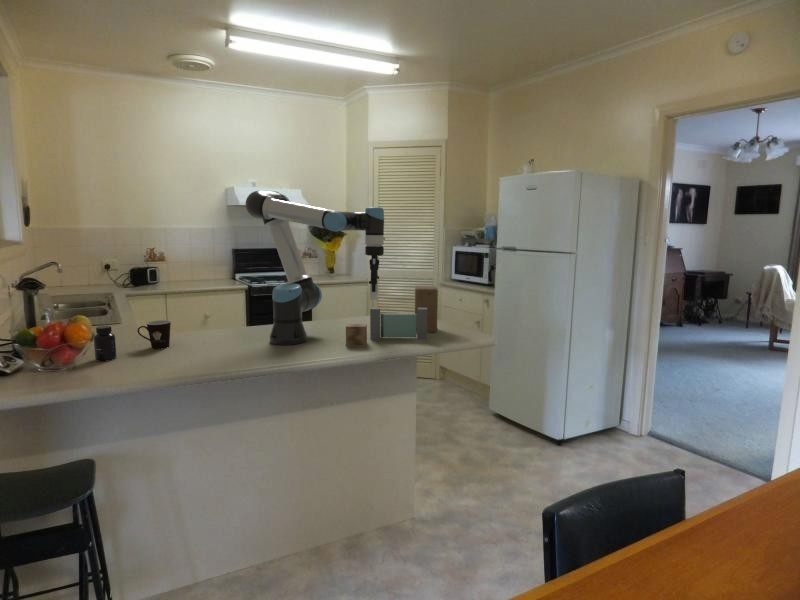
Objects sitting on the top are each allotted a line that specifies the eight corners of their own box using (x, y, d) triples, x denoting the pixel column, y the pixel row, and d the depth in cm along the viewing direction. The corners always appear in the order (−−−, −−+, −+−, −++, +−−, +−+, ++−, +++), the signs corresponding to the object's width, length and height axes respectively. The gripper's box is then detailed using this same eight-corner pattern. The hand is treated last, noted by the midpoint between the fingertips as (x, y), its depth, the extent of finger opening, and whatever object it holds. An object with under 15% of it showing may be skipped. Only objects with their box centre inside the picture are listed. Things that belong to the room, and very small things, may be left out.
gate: (380, 337, 219) (380, 314, 217) (380, 336, 220) (380, 313, 218) (416, 337, 218) (416, 314, 217) (416, 336, 220) (416, 313, 218)
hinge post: (370, 339, 218) (370, 309, 215) (371, 336, 222) (370, 307, 219) (379, 339, 217) (379, 309, 215) (380, 337, 221) (380, 307, 219)
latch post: (417, 339, 217) (417, 309, 215) (417, 337, 221) (417, 307, 219) (426, 339, 217) (427, 309, 215) (426, 337, 221) (426, 307, 219)
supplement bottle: (93, 362, 182) (89, 329, 180) (98, 357, 189) (95, 325, 187) (114, 360, 184) (111, 328, 182) (119, 356, 191) (116, 324, 189)
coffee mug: (177, 345, 207) (175, 321, 205) (162, 350, 199) (160, 325, 197) (153, 343, 210) (151, 319, 208) (137, 348, 202) (135, 323, 200)
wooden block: (437, 333, 229) (437, 288, 226) (414, 333, 229) (415, 288, 226) (436, 328, 239) (436, 285, 236) (414, 328, 239) (414, 285, 236)
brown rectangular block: (346, 346, 206) (345, 326, 205) (347, 342, 211) (347, 324, 210) (365, 346, 206) (365, 326, 205) (366, 343, 211) (366, 324, 210)
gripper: (383, 247, 197) (382, 302, 200) (383, 243, 221) (383, 292, 225) (364, 247, 196) (363, 301, 200) (366, 243, 221) (366, 292, 225)
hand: (374, 297), depth 212 cm, fingers open, 13 cm apart
